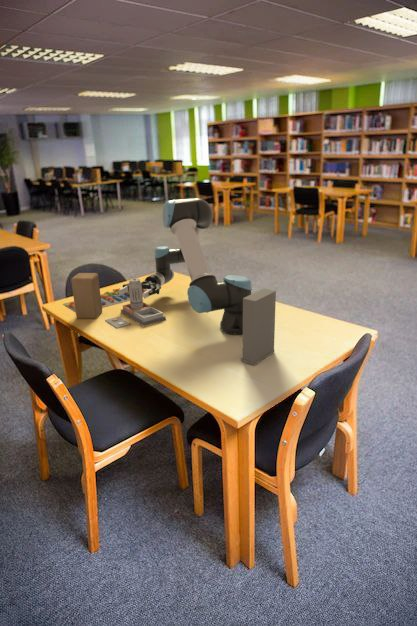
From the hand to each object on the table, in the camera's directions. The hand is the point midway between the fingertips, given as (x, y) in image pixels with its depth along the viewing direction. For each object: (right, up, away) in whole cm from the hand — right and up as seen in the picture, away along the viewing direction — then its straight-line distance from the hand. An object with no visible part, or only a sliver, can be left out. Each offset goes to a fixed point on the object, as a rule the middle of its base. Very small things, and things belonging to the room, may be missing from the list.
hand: (131, 294), depth 207 cm
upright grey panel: (+55, -26, -40) cm, 72 cm away
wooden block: (-21, -10, +5) cm, 24 cm away
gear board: (-16, -2, +27) cm, 32 cm away
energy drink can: (+2, -7, +6) cm, 10 cm away
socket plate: (+5, -10, +3) cm, 12 cm away
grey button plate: (-6, -13, -5) cm, 15 cm away
